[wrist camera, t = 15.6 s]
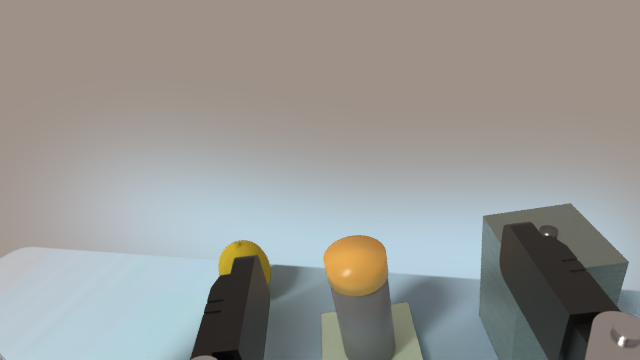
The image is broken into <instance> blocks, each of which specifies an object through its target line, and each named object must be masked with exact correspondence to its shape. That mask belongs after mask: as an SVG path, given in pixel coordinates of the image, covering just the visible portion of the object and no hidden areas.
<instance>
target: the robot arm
mask: <svg viewBox="0 0 640 360" xmlns="http://www.w3.org/2000/svg"><path fill="white" fill-rule="evenodd" d="M499 264H500V270H501V274H502V277H503V279H504V281H505V283H506V284H507V286H508V288H509V290H510V292H511V293H512V295H513V297H514V299H515V301H516V302H517V304H518V306H519V308H520V310H521V311H522V313H523V315H524V317H525V319H526V320H527V322H528V324H529V326H530V328H531V329H532V331H533V333H534V335H535V337H536V338H537V340H538V342H539V344H540V346H541V347H542V349H543V351H544V353H545V355H546V356H547V358H548V360H640V319H639V318H637V317H635V316H633V315H630V314H627V313H623V312H621V311H620V310H619V309H618V307H617V306H616V305H615V304H614V302H613V301H612V300H611V299H610V298H609V296H608V295H607V294H606V293H605V291H604V290H603V289H602V288H601V287H600V285H599V284H598V283H597V282H596V280H595V279H594V278H593V277H592V276H591V274H590V273H589V272H587V271H586V268H585V267H584V266H583V265H582V263H581V262H580V261H578V260H577V257H576V256H575V255H574V254H573V252H572V251H571V250H570V249H569V248H568V246H567V245H565V244H564V243H562V242H560V241H559V240H557V239H556V238H554V237H553V236H542V235H541V233H540V232H539V231H538V229H537V228H536V227H535V225H534V224H533V223H532V222H522V223H514V224H506V225H504V227H503V232H502V241H501V250H500V258H499ZM269 306H270V296H269V289H268V285H267V282H266V278H265V275H264V272H263V269H262V265H261V262H260V259H259V257H258V255H252V256H244V257H236V258H235V259H234V261H233V265H232V269H231V273H230V274H226V275H220V277H219V278H218V279H217V281H216V282H215V283H214V284H213V286H212V287H211V290H210V293H209V297H208V300H207V304H206V307H205V310H204V315H203V317H202V321H201V324H200V328H199V331H198V335H197V338H196V342H195V345H194V348H193V352H192V355H191V358H190V360H263V358H264V349H265V341H266V332H267V324H268V315H269ZM0 360H5V358H4V357H3V356H2V355H1V354H0Z"/></svg>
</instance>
